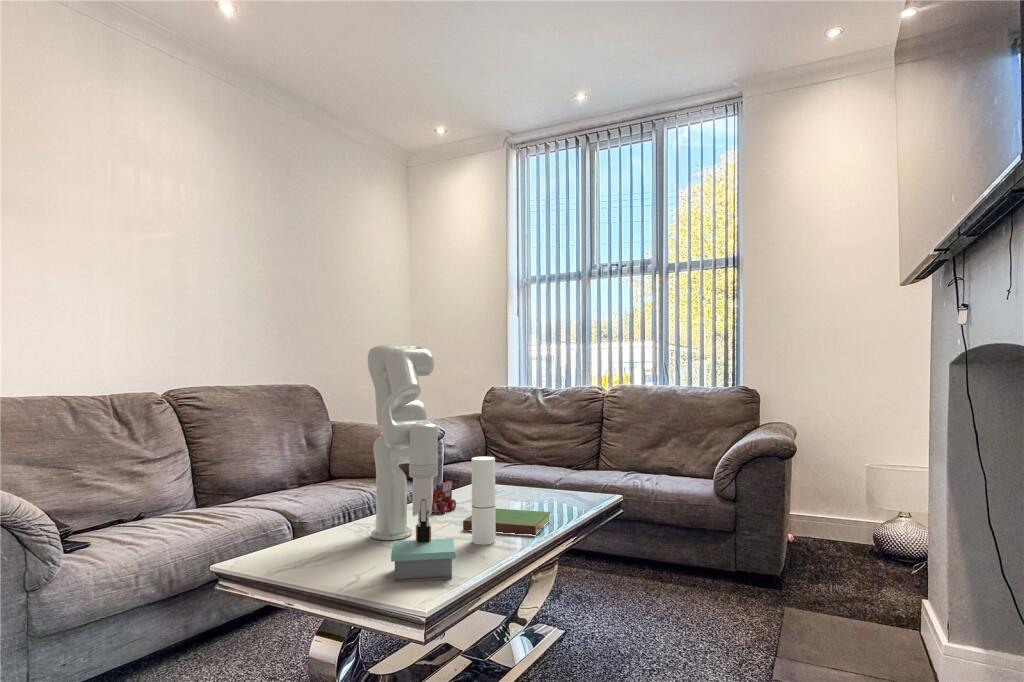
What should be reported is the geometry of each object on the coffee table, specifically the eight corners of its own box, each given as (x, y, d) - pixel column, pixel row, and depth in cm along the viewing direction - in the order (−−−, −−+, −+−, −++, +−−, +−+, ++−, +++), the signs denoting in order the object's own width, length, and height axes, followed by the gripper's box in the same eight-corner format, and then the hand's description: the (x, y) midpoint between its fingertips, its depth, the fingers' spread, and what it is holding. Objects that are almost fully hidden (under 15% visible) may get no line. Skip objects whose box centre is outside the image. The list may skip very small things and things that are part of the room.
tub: (396, 568, 154) (396, 545, 154) (450, 565, 156) (450, 542, 156) (394, 582, 144) (394, 557, 144) (452, 578, 146) (451, 554, 146)
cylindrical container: (495, 538, 181) (495, 456, 182) (495, 544, 174) (495, 459, 175) (472, 538, 180) (471, 456, 182) (471, 545, 173) (471, 460, 175)
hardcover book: (463, 532, 189) (463, 520, 189) (483, 518, 207) (483, 507, 207) (537, 538, 182) (537, 526, 182) (552, 523, 199) (552, 512, 200)
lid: (393, 547, 154) (393, 525, 155) (452, 544, 157) (452, 523, 157) (391, 561, 143) (391, 538, 143) (455, 558, 145) (455, 535, 146)
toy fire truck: (423, 514, 212) (423, 485, 212) (443, 506, 223) (443, 479, 223) (439, 516, 209) (439, 486, 209) (458, 508, 220) (458, 480, 220)
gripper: (409, 465, 163) (409, 532, 162) (408, 475, 147) (408, 550, 146) (437, 464, 164) (437, 531, 163) (438, 474, 148) (438, 548, 147)
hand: (423, 539), depth 155 cm, fingers closed on lid
